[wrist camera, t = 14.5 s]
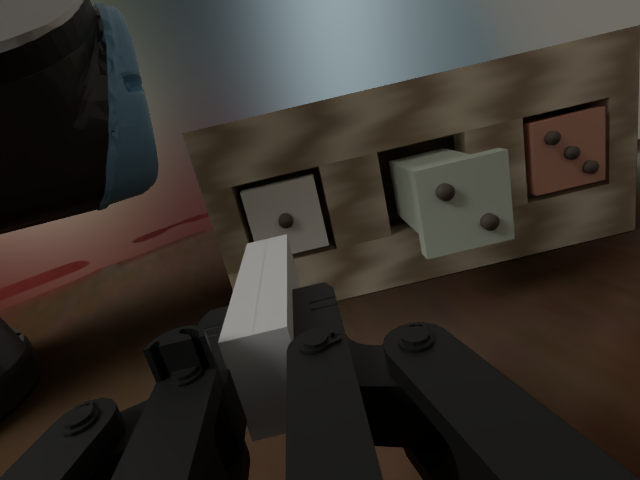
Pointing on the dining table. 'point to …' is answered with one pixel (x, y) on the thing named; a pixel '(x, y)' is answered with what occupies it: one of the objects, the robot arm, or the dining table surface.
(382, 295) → the dining table surface
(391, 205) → the console
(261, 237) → the button
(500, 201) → the button
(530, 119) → the button
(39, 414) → the dining table surface
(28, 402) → the dining table surface
